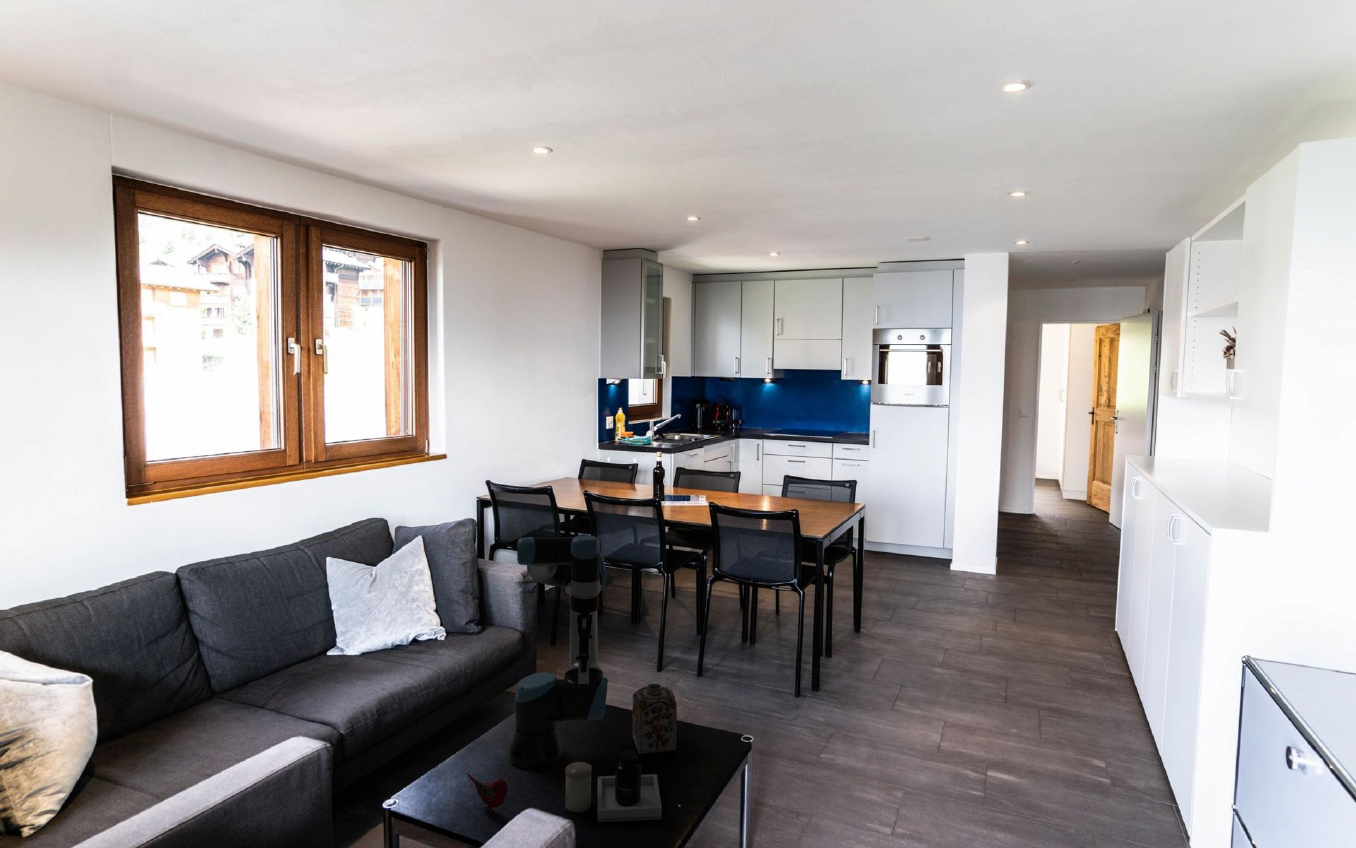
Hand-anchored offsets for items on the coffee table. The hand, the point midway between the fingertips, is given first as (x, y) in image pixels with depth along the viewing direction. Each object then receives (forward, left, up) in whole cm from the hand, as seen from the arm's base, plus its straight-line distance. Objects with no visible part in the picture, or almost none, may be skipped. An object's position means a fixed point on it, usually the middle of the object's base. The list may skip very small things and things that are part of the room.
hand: (584, 673), depth 198 cm
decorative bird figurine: (+8, -24, -32) cm, 41 cm away
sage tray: (+8, +12, -32) cm, 35 cm away
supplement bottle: (+8, +12, -31) cm, 34 cm away
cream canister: (+8, -1, -32) cm, 33 cm away
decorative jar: (-23, +21, -32) cm, 45 cm away
